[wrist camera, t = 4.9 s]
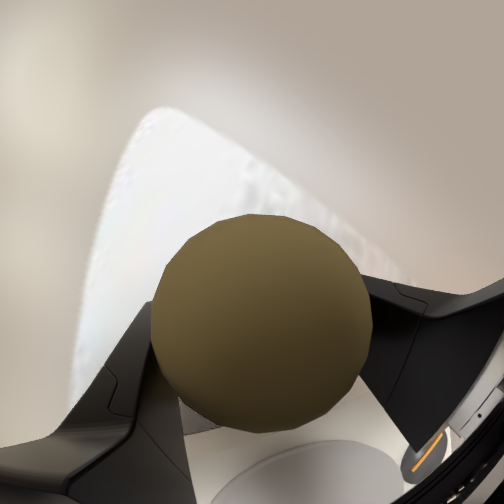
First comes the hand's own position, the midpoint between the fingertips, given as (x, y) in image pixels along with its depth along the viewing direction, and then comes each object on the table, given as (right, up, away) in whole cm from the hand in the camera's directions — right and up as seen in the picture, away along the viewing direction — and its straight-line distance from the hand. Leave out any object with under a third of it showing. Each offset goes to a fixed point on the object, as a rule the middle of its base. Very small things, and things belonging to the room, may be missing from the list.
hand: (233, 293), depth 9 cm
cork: (-1, -4, +6) cm, 7 cm away
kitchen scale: (+5, -13, +3) cm, 15 cm away
